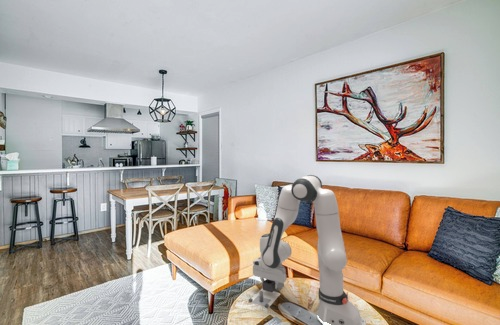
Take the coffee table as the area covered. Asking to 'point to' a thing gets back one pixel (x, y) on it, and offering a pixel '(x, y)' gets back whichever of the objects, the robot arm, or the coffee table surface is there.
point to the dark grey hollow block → (268, 285)
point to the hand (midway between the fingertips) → (269, 286)
